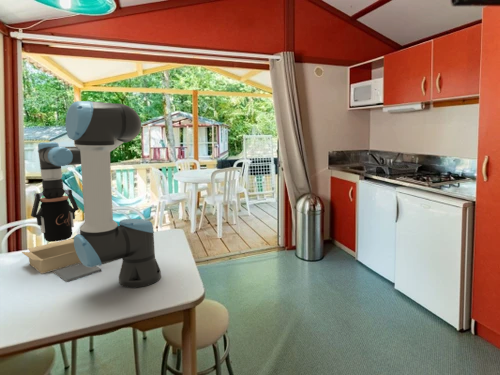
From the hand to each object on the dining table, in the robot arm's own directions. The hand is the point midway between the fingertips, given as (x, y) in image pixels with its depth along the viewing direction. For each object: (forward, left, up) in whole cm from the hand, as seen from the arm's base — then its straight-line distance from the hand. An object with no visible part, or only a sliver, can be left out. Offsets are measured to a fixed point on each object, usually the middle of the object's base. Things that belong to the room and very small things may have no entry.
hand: (57, 229), depth 139 cm
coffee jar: (0, 0, -4) cm, 4 cm away
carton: (0, 0, -15) cm, 15 cm away
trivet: (-18, 0, -15) cm, 23 cm away
